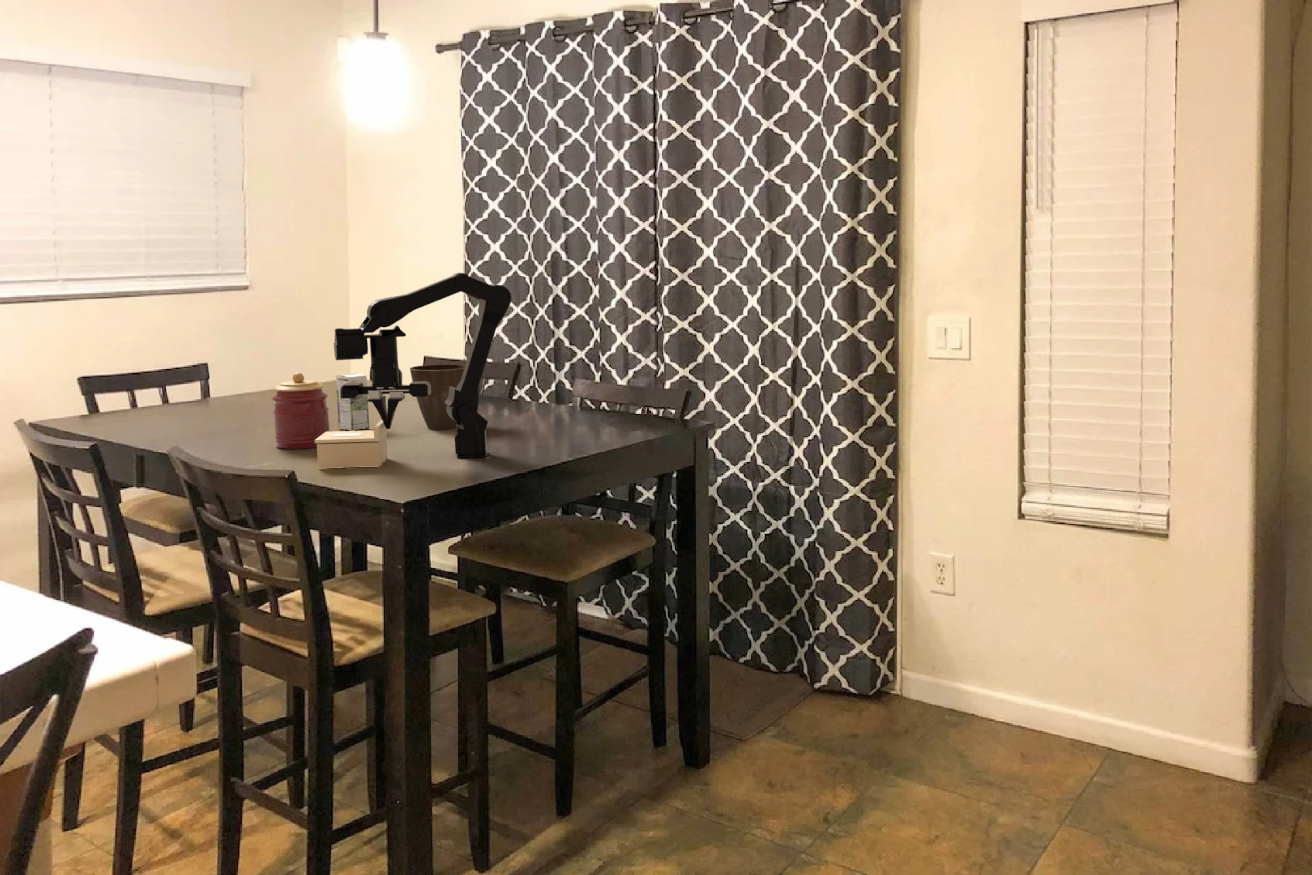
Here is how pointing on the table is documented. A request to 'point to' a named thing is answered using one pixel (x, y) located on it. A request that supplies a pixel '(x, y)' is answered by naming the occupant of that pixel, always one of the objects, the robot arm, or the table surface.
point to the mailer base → (352, 454)
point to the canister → (299, 413)
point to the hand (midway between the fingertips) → (388, 428)
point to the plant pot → (437, 392)
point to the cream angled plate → (354, 435)
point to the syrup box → (352, 404)
